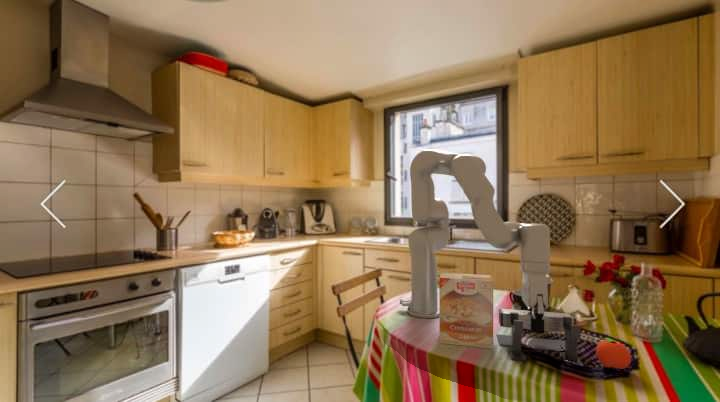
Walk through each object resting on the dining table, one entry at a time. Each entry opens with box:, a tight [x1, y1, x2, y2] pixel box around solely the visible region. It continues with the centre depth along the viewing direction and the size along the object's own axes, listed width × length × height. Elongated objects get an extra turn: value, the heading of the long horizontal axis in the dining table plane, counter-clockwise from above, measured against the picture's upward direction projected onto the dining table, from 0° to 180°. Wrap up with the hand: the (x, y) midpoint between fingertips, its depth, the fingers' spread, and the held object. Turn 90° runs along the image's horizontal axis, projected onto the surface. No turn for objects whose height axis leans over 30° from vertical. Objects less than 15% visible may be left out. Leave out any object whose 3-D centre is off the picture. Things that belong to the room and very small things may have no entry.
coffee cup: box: [546, 274, 554, 309], centre depth 128 cm, size 9×9×12 cm
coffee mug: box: [509, 289, 528, 311], centre depth 112 cm, size 12×9×10 cm
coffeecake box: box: [438, 272, 494, 350], centre depth 97 cm, size 15×7×20 cm, turn 75°
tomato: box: [595, 337, 632, 370], centre depth 82 cm, size 8×7×7 cm
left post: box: [506, 312, 527, 362], centre depth 88 cm, size 4×7×10 cm, turn 164°
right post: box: [559, 316, 584, 365], centre depth 85 cm, size 4×7×10 cm, turn 164°
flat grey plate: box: [496, 333, 580, 354], centre depth 95 cm, size 20×7×1 cm, turn 74°
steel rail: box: [498, 308, 577, 333], centre depth 95 cm, size 19×4×4 cm, turn 74°
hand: (535, 328), depth 95 cm, fingers closed on steel rail, 4 cm apart
